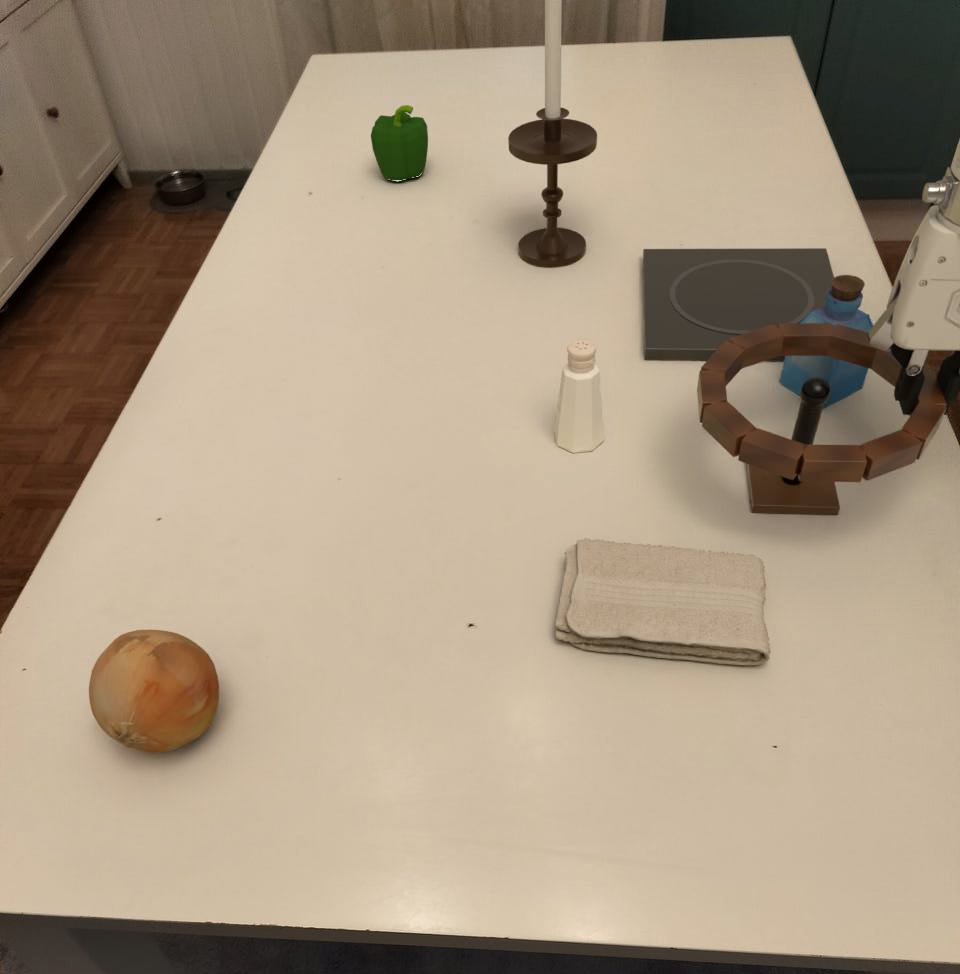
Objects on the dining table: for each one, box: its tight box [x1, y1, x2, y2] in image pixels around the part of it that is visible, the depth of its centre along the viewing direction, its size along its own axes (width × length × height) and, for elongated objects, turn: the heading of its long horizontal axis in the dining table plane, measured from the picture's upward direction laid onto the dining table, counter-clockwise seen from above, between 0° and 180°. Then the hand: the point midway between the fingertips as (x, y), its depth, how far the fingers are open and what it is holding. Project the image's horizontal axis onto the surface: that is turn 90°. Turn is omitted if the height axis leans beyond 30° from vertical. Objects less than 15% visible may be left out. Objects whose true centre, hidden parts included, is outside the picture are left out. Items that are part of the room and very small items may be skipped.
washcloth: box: [554, 538, 771, 666], centre depth 79 cm, size 12×18×3 cm, turn 81°
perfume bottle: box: [778, 274, 874, 410], centre depth 96 cm, size 6×6×12 cm
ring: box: [696, 323, 947, 483], centre depth 82 cm, size 21×21×2 cm
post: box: [745, 377, 841, 516], centre depth 85 cm, size 8×8×12 cm
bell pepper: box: [370, 104, 429, 180], centre depth 136 cm, size 8×8×10 cm
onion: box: [88, 629, 220, 754], centre depth 72 cm, size 10×10×10 cm
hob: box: [642, 247, 835, 362], centre depth 110 cm, size 23×23×2 cm
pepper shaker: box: [553, 338, 605, 454], centre depth 92 cm, size 5×5×11 cm
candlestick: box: [507, 0, 598, 268], centre depth 109 cm, size 11×11×35 cm
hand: (921, 404), depth 81 cm, fingers closed on ring, 2 cm apart
